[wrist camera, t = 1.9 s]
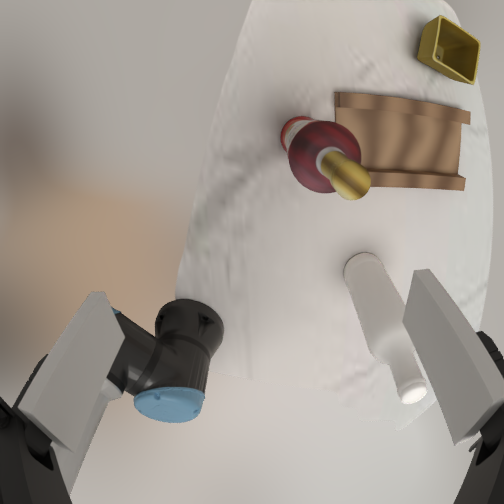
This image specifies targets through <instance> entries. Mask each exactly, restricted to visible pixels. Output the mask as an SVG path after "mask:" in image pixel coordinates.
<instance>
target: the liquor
mask: <svg viewBox="0 0 504 504" xmlns="http://www.w3.org/2000/svg"><path fill="white" fill-rule="evenodd" d="M281 143H282V146H283V148H284V150H285V151H286V152H287V155H288V159H289V164H290V167H291V170H292V172H293V174H294V176H295V178H296V179H297V180H298V182H300V183H301V184H302V185H303V186H304V187H306V188H308V189H309V190H312V191H314V192H318V193H332V192H337V193H338V194H339V195H340V196H341V197H343V198H344V199H347V200H357V199H360V198H362V197H363V196H364V195H365V194H366V193H367V192H368V190H369V188H370V184H371V178H370V174H369V172H368V171H367V169H366V168H365V167H364V166H362V165H361V149H360V146H359V143H358V141H357V139H356V138H355V136H354V135H353V134H352V133H351V132H350V131H349V130H348V129H347V128H346V127H344V126H343V125H340V124H338V123H335V122H330V121H320V120H314V119H312V118H309V117H304V116H301V117H295V118H293V119H291V120H289V121H288V122H287V123H286V124H285V125H284V127H283V129H282V132H281Z"/></svg>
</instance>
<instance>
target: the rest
mask: <svg viewBox="0 0 504 504" xmlns="http://www.w3.org/2000/svg"><path fill="white" fill-rule="evenodd" d="M334 93H335V123H338V124H340V125H343V126H344V127H346V128H347V129H348V130H349V131H350V132H351V133H352V134H353V135H354V136H355V138H356V139H357V141H358V143H359V146H360V149H361V165H362V166H364V167H365V168H366V169H367V171H368V172H369V174H370V178H371V184H370V187H404V188H427V189H445V190H460V191H464V187H465V180H466V178H464V177H462V176H460V175H458V166H459V156H460V143H461V123H464V124H469V125H470V112H469V111H465V110H461V109H457V108H452V107H448V106H443V105H438V104H433V103H428V102H422V101H417V100H410V99H404V98H397V97H389V96H381V95H371V94H360V93H346V92H334Z"/></svg>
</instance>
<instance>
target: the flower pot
mask: <svg viewBox="0 0 504 504" xmlns="http://www.w3.org/2000/svg"><path fill="white" fill-rule="evenodd" d="M479 54H480V41H479V40H478V39H476V38H475V37H473V36H472V35H471V34H469V33H468V32H466V31H465V30H463V29H462V28H461V27H459V26H458V25H456V24H455V23H453V22H452V21H450V20H449V19H447V18H446V17H444V16H442V15H439V16H438V17H436V18H435V19H433V20H432V21H430V22H429V23H427V24H426V26H425V27H424V29H423V32H422V36H421V41H420V47H419V51H418V56H417V58H418V60H419V61H420V62H422V63H424V64H426V65H428V66H430V67H431V68H433V69H435V70H437V71H438V72H440V73H442V74H443V75H445V76H447V77H448V78H450V79H452V80H455V81H459V82H463V83H467V84H471V85H474V83H475V79H476V74H477V67H478V61H479ZM437 56H439V59H438V58H437Z"/></svg>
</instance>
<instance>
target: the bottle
mask: <svg viewBox="0 0 504 504" xmlns="http://www.w3.org/2000/svg"><path fill="white" fill-rule="evenodd" d="M344 278H345V282H346V285H347V287H348V289H349V292H350V294H351V297H352V300H353V303H354V306H355V309H356V312H357V315H358V318H359V321H360V324H361V327H362V330H363V333H364V336H365V339H366V342H367V345H368V348H369V350H370V353H371V354H372V355H373V356H374V358H375V359H376V360H377V361H379V362H380V363H382V364H386V365H390V368H391V371H392V374H393V377H394V380H395V383H396V386H397V393H398V396H399V397H400V399H401V402H402V403H405V404H411V403H415V402H417V401H419V400H420V399H422V398H423V397H424V396H425V394H426V393H427V386H426V380H425V378H423V376H422V374H421V371H420V369H419V366H418V364H417V362H416V359H415V357H414V355H413V353H414V351H415V347H414V345H413V343H412V341H411V339H410V336H409V334H408V332H407V330H406V328H405V326H404V324H403V322H402V320H403V316H404V312H405V308H406V305H405V304H404V302H403V300H402V298H401V296H400V295H399V293H398V291H397V289H396V288H395V286H394V284H393V282H392V281H391V279H390V277H389V275H388V274H387V272H386V270H385V269H384V266H383V264H382V263H381V262H380V260H379V259H378V258H377V257H376V256H375V255H373V254H370V253H361V254H358V255H355V256H354V257H352V258H351V259H350V260H349V261H348V262H347V264H346V266H345V268H344Z"/></svg>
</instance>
